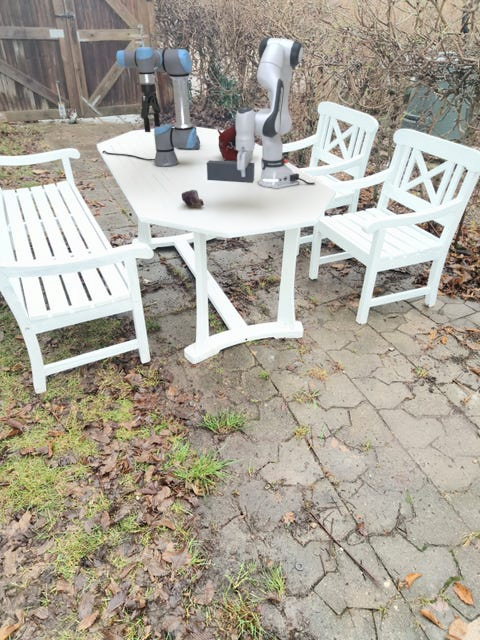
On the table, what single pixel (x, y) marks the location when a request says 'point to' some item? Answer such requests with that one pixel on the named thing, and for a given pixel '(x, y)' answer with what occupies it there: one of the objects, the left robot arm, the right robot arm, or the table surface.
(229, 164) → the bar
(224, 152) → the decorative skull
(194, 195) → the rock
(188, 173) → the table surface
